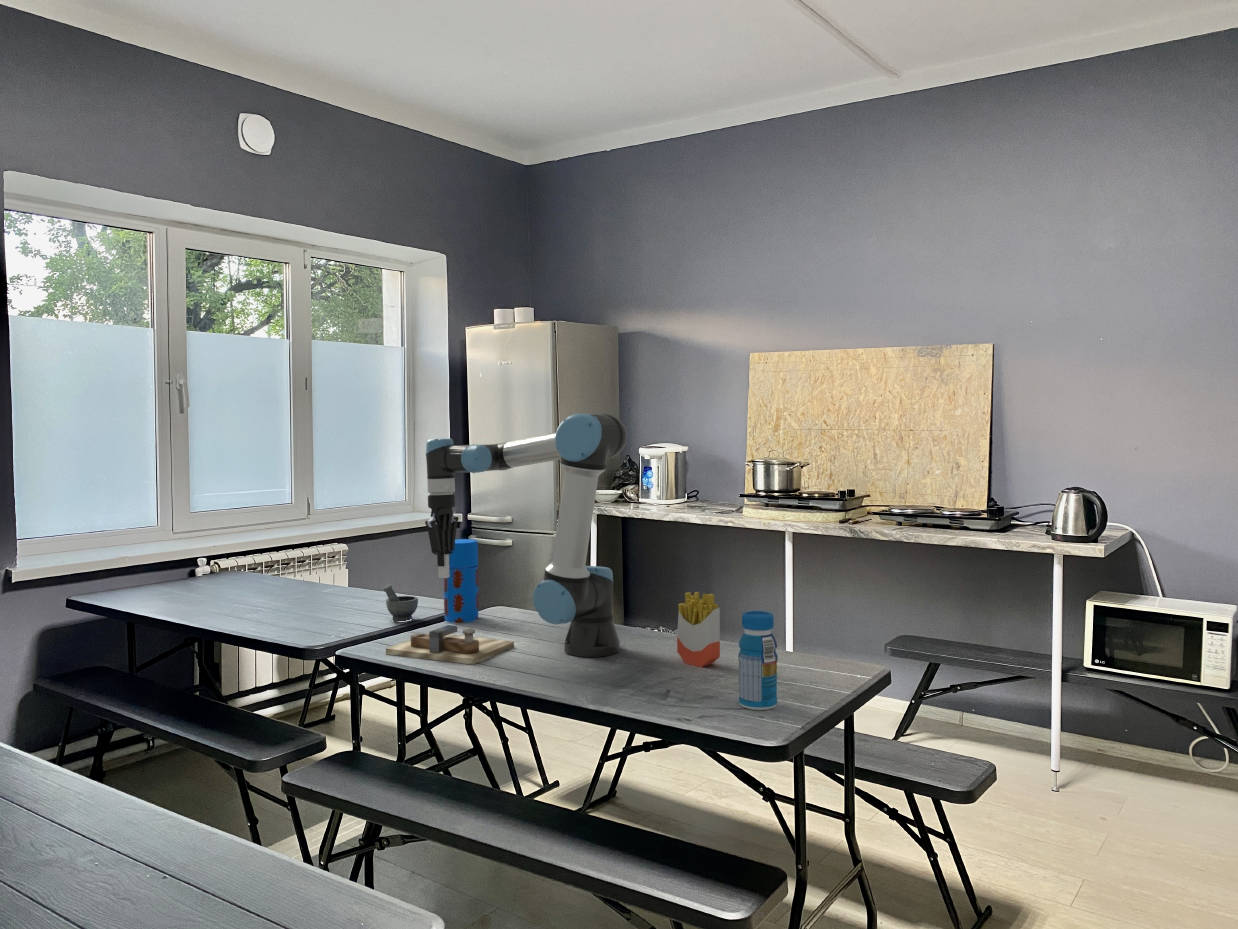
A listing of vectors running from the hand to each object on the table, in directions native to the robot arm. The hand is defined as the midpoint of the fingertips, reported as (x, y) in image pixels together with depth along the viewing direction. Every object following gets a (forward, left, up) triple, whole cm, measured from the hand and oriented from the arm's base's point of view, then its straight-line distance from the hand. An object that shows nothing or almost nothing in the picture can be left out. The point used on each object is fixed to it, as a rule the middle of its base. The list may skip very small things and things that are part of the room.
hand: (444, 577), depth 247 cm
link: (-6, +9, -17) cm, 21 cm away
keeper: (-7, +10, -17) cm, 21 cm away
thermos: (+14, -29, -19) cm, 38 cm away
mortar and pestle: (+31, -20, -19) cm, 42 cm away
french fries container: (-73, -7, -19) cm, 75 cm away
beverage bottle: (-96, +20, -19) cm, 99 cm away
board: (-6, +5, -19) cm, 20 cm away
